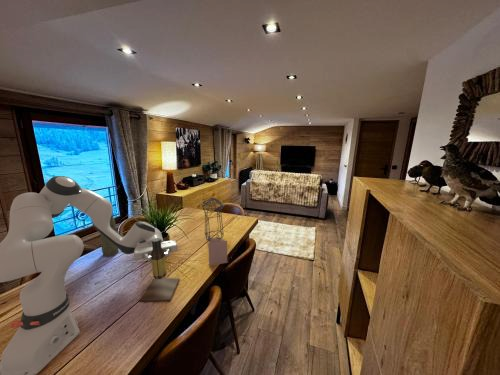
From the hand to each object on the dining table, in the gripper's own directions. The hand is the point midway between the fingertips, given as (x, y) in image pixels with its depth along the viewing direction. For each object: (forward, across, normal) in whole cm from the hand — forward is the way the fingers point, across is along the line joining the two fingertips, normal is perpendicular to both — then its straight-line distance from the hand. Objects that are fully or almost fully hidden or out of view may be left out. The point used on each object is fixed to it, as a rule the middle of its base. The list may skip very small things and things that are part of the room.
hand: (158, 257), depth 95 cm
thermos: (-53, +25, -20) cm, 61 cm away
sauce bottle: (-1, 0, -11) cm, 11 cm away
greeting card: (-8, -34, -19) cm, 39 cm away
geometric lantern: (-38, -42, -19) cm, 60 cm away
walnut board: (0, 0, -19) cm, 19 cm away
